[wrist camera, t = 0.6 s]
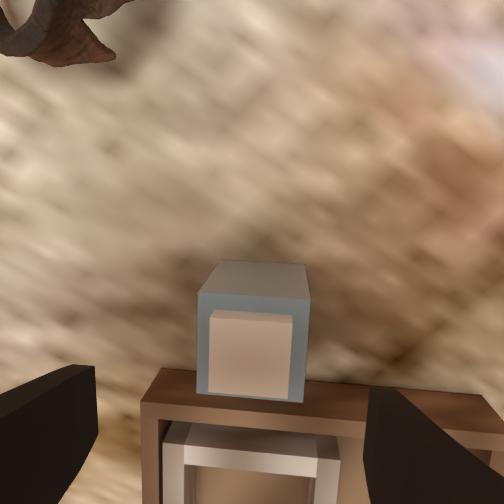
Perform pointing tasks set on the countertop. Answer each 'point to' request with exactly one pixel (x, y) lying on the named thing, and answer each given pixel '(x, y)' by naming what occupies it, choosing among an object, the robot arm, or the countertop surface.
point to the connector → (253, 331)
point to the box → (282, 442)
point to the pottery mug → (59, 32)
